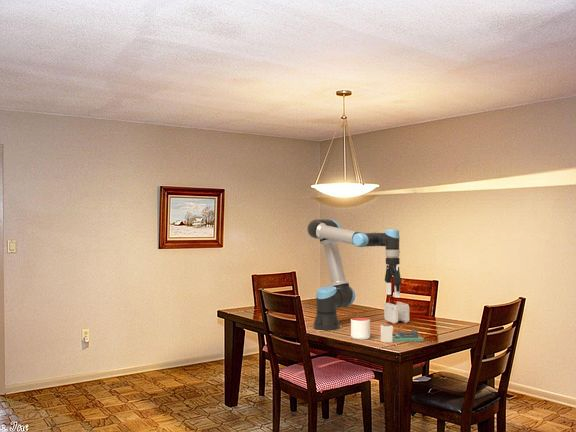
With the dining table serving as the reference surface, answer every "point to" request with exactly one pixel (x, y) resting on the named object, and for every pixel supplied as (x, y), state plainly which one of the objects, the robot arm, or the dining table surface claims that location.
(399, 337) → the board
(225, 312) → the dining table surface
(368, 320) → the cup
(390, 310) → the cable organizer
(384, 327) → the plug
